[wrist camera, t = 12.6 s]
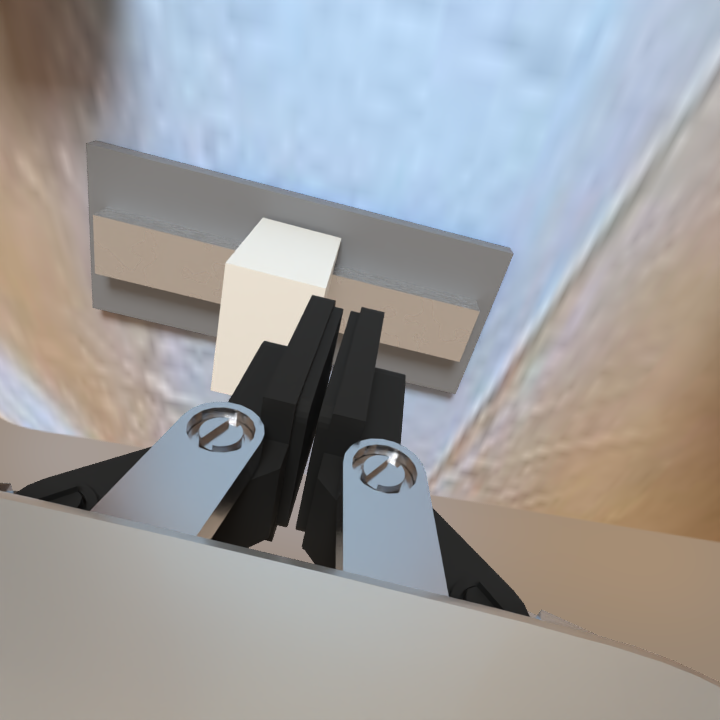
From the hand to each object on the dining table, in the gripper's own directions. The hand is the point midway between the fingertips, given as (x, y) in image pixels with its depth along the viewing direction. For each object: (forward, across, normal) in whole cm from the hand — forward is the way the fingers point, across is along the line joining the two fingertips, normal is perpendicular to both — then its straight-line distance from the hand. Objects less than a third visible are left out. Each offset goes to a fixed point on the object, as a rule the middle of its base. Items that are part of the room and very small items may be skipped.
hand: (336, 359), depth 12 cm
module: (+18, +4, +7) cm, 20 cm away
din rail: (+19, +4, +7) cm, 21 cm away
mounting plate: (+19, +4, +7) cm, 21 cm away
